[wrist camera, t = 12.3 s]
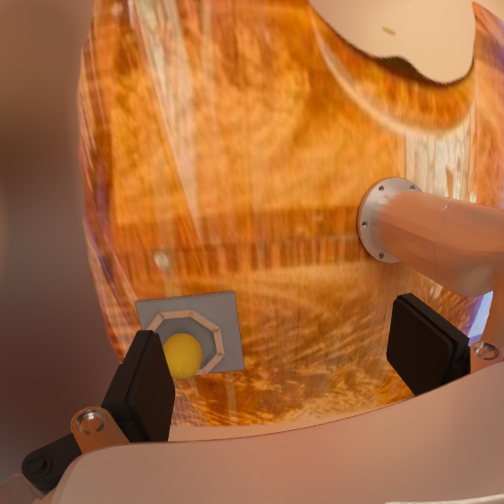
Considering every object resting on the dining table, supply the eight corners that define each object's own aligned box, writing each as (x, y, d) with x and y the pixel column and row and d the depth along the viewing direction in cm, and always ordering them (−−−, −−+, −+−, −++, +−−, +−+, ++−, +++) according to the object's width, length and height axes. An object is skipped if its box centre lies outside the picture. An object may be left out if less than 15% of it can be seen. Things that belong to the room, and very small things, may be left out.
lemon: (201, 357, 42) (198, 393, 34) (165, 351, 41) (155, 385, 33) (206, 326, 40) (203, 360, 33) (167, 319, 40) (157, 352, 32)
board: (234, 290, 40) (234, 293, 39) (244, 365, 44) (244, 369, 43) (136, 300, 40) (135, 303, 39) (157, 372, 43) (156, 376, 42)
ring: (217, 302, 40) (216, 307, 38) (227, 366, 43) (228, 372, 41) (139, 309, 39) (137, 314, 37) (158, 371, 42) (156, 377, 40)
